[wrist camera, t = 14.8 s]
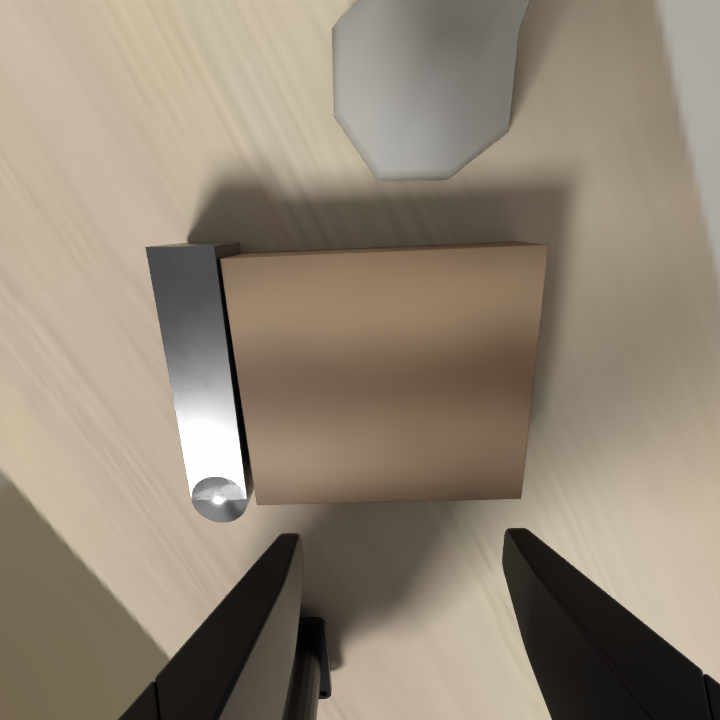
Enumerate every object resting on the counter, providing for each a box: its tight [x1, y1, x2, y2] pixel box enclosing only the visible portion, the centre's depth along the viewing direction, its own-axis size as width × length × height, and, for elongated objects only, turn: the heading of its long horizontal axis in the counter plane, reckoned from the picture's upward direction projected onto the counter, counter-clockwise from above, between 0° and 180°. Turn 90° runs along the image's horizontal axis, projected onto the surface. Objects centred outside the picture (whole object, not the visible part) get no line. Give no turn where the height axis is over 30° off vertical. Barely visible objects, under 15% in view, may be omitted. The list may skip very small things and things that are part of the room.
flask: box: [332, 0, 530, 180], centre depth 11 cm, size 7×7×10 cm
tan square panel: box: [220, 242, 548, 505], centre depth 18 cm, size 11×12×3 cm
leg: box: [146, 243, 254, 522], centre depth 18 cm, size 12×2×3 cm, turn 1°
